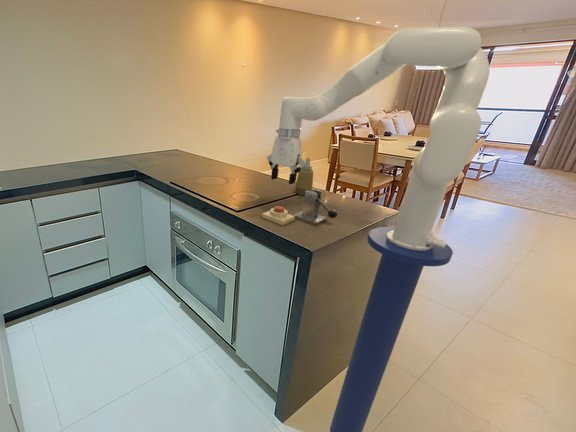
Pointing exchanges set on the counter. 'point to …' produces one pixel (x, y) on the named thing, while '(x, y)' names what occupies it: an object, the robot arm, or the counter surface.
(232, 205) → the counter surface
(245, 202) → the counter surface
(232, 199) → the counter surface
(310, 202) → the bracket
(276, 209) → the button
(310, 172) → the squeeze bottle
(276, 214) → the control block
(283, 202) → the counter surface
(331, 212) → the lever
